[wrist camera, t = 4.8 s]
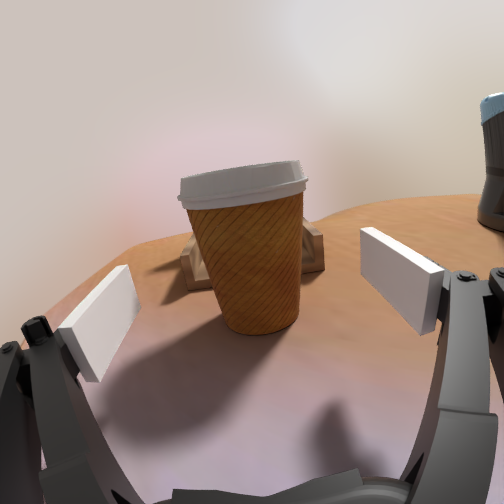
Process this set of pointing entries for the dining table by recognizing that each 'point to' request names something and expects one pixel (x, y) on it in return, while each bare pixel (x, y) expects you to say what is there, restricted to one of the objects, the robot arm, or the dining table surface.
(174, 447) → the dining table surface
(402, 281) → the robot arm
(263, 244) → the disposable coffee cup
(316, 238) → the cradle
